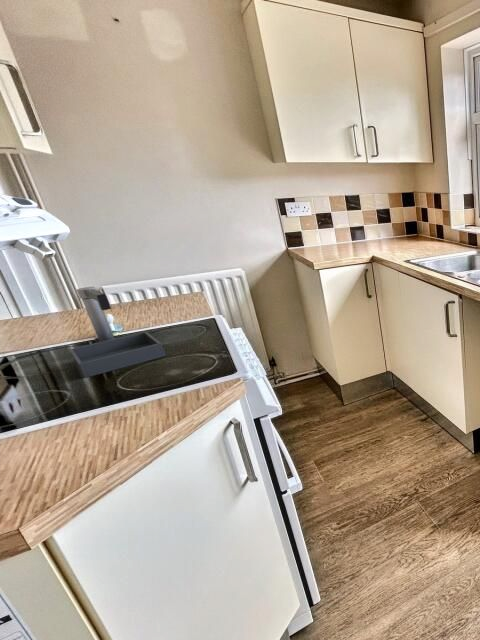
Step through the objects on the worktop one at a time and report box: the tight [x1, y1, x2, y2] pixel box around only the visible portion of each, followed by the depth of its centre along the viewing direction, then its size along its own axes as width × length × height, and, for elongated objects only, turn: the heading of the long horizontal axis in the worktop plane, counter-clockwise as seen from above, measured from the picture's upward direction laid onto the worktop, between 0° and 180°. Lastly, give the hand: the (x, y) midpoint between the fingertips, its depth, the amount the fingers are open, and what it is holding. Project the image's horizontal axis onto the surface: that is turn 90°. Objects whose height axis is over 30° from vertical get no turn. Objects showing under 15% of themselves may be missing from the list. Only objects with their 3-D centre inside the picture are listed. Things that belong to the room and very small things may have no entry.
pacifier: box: [94, 313, 123, 339], centre depth 120 cm, size 7×6×6 cm
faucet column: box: [81, 298, 116, 342], centre depth 110 cm, size 6×6×14 cm
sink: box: [68, 331, 167, 379], centre depth 105 cm, size 15×14×4 cm
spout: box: [76, 286, 112, 311], centre depth 105 cm, size 3×13×4 cm, turn 57°
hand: (48, 256), depth 98 cm, fingers closed
